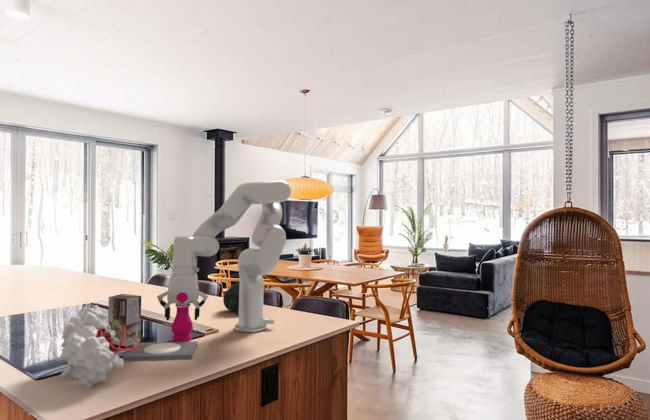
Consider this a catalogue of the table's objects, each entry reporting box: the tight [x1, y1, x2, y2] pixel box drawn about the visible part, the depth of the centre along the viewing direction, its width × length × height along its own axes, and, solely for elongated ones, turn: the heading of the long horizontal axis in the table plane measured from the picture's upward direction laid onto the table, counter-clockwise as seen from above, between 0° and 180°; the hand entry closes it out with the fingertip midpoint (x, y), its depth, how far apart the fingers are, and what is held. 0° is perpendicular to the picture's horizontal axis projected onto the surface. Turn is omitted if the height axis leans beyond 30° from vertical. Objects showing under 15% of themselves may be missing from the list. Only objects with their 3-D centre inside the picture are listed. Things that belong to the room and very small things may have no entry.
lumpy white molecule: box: [60, 304, 142, 389], centre depth 117 cm, size 20×18×25 cm
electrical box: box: [107, 293, 142, 348], centre depth 146 cm, size 9×6×16 cm
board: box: [122, 340, 198, 362], centre depth 137 cm, size 20×14×1 cm
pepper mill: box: [170, 292, 194, 342], centre depth 150 cm, size 7×7×20 cm
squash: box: [223, 281, 240, 314], centre depth 198 cm, size 14×15×15 cm
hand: (182, 319), depth 150 cm, fingers open, 9 cm apart
